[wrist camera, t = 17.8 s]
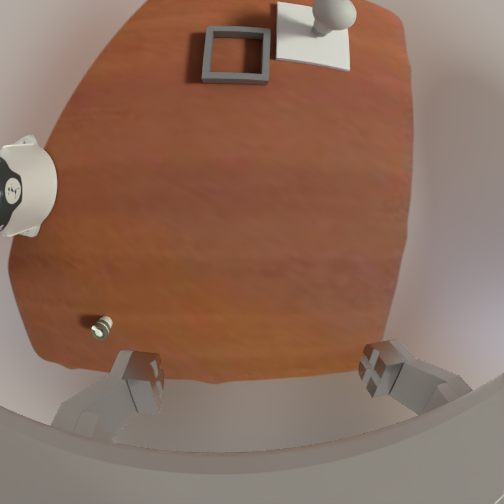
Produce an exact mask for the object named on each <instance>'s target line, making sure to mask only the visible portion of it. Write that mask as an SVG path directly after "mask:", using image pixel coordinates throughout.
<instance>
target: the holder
mask: <svg viewBox="0 0 504 504" xmlns="http://www.w3.org/2000/svg"><path fill="white" fill-rule="evenodd" d="M270 34H271V29H269V28H258V27H241V26H207V29H206V38H205V47H204V57H203V68H202V81H203V83H231V84H253V85H267V83H268V82H269V64H270ZM214 38H248V39H262V47H261V70H260V74H252V73H228V72H211V60H212V49H213V39H214Z"/></svg>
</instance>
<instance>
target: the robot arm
mask: <svg viewBox="0 0 504 504" xmlns="http://www.w3.org/2000/svg"><path fill="white" fill-rule="evenodd" d="M56 193H57V175H56V170H55V166H54V164H53V161H52V159H51V157H50V156H49V155H48V153H47V152H46V151H45V150H43V149H42V148H41V147H39V145H38V144H37V141H36V139H35V137H34V136H33V135H27V136H25V137H23V138H22V139H20V140H19V141H17V142H15V143H13V144H12V145H6V146H3V148H2V149H0V234H1V236H3V237H5V236H7V237H11V236H14V235H16V234H21V235H25V236H29V237H34V236H36V235H37V234H38V231H39V229H40V225H41V223H42V222H43V220H44V219H45V218H46V217H47V216H48V215H49V213H50V211H51V209H52V207H53V205H54V202H55V198H56ZM28 230H29V231H28ZM363 353H364V355H365V356H364V357H363V358H362V359H361V360H360V363H359V366H358V367H359V375H360V378H361V380H362V381H364V382H365V383H367V390H368V392H369V393H370V395H371V397H372V398H376V397H381V396H385V395H389V394H390V396H391V397H392V398H394V399H395V400H397V401H398V402H400V403H401V404H403V405H405V406H406V407H407V408H409V409H410V410H412V411H414V412H415V413H416V414H418V415H419V416H416V417H413V418H411V419H408V420H405V421H402V422H399V423H396V424H394V425H390V426H387V427H384V428H381V429H378V430H374V431H371V432H367V433H363V434H360V435H356V436H352V437H348V438H343V439H339V440H334V441H329V442H324V443H319V444H314V445H307V446H301V447H293V448H285V449H276V450H267V451H252V452H226V453H208V452H181V451H169V450H158V449H150V448H143V447H136V446H129V445H123V444H118V443H113V441H112V438H113V437H115V436H116V435H117V434H118V433H119V432H120V431H121V430H122V428H124V427H125V426H126V425H127V424H128V423H129V422H130V421H131V420H132V419H133V418H134V417H135V416H136V415H137V414H138V413H149V414H159V412H160V406H161V398H160V395H161V394H162V393H163V390H164V374H163V370H162V369H161V368H160V364H161V359H160V355H159V354H158V353H149V352H138V351H127V350H121V351H120V352H119V354H118V356H117V358H116V360H115V363H114V365H113V367H112V370H111V372H110V374H109V377H103V378H102V379H100V380H99V381H97V382H96V383H94V384H92V385H91V386H89V387H88V388H86V389H84V390H83V391H81V392H80V393H78V394H77V395H75V396H73V397H72V398H70V399H68V400H67V401H65V402H63V403H62V404H61V405H60V407H59V410H58V412H57V414H56V416H55V418H54V420H53V422H52V424H51V426H49V425H46V424H43V423H40V422H37V421H35V420H32V419H30V418H27V417H24V416H22V415H20V414H17V413H15V412H13V411H10V410H8V409H6V408H4V407H2V406H0V504H504V373H502V374H501V375H499V376H498V377H496V378H494V379H493V380H491V381H490V382H488V383H486V384H484V385H482V386H481V387H479V388H477V389H475V390H472V389H471V388H470V387H469V386H468V384H467V383H466V382H465V381H464V380H463V379H462V378H461V377H460V376H459V375H456V374H454V373H452V372H449V371H447V370H444V369H442V368H440V367H437V366H434V365H432V364H430V363H427V362H425V361H422V360H420V359H415V358H414V356H413V355H412V354H411V353H410V352H409V351H408V350H407V348H406V347H405V346H404V345H403V344H402V343H401V342H400V341H399V340H398V339H392V340H387V341H383V342H377V343H371V344H367V345H366V346H365V347H364V350H363ZM137 412H138V413H137Z"/></svg>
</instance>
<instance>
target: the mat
mask: <svg viewBox="0 0 504 504" xmlns="http://www.w3.org/2000/svg"><path fill="white" fill-rule="evenodd" d="M314 20H315V18H314V16H313V12H312V7H308V6H303V5H297V4H291V3H284V2H278V3H277V23H276V60H281V61H289V62H297V63H304V64H310V65H316V66H321V67H326V68H331V69H336V70H341V71H345V72H348V71H350V59H349V41H348V28H347V29H344V30H333V31H332V32H331V33H328V34H327V35H325V36H324V37H318V36H316V35H314V34H313V33H312V27H313V23H314Z"/></svg>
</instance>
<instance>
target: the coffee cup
mask: <svg viewBox="0 0 504 504" xmlns="http://www.w3.org/2000/svg"><path fill="white" fill-rule="evenodd" d="M111 326H112V320H111V319H110V318H109V317H108V316H102V317H101V318H100V319H99V320H98V321H97V322H96V323H95V324H93V326H92V329H91V333H92V335H93V336H94V337H95V338H96V339H97V340H101V341H102V340H105V339H106V338H107V337H108V334H109V331H110V328H111Z"/></svg>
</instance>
